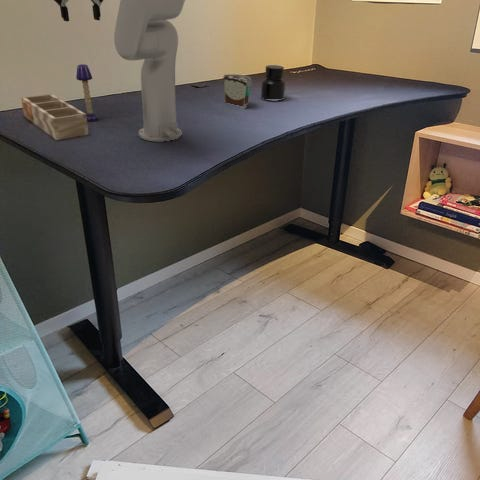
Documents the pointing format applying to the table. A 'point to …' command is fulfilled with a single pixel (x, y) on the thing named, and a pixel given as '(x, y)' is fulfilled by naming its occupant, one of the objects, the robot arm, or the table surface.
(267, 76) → the ink bottle
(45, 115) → the rack
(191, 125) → the table surface
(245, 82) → the food container
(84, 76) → the toy lamp
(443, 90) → the table surface
